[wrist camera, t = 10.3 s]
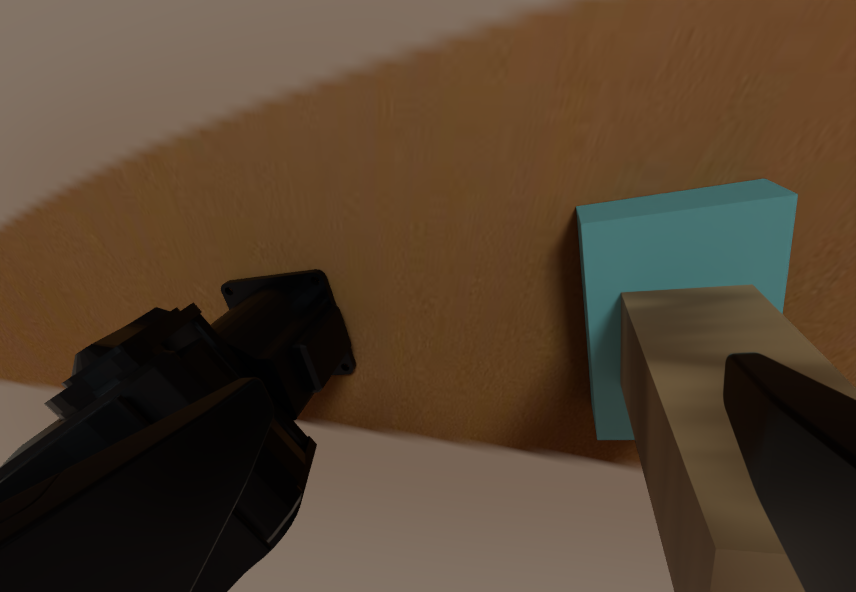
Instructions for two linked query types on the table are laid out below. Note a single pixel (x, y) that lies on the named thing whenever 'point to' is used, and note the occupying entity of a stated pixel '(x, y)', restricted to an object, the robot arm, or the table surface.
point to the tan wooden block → (707, 429)
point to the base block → (674, 264)
